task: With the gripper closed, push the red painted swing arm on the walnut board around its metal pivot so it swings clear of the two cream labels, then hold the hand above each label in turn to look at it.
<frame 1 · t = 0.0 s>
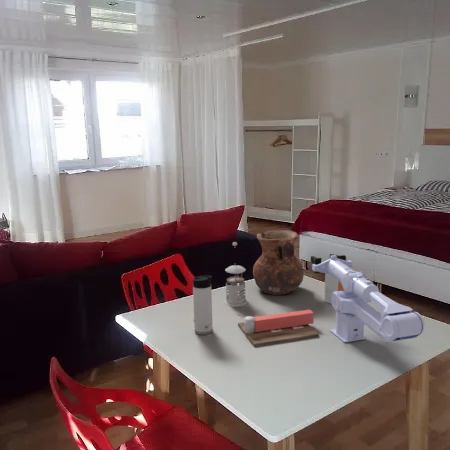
hand: (321, 257, 168), 22 cm above the table, tool horizontal, fingers open, 7 cm apart
travel mug: (204, 331, 160), on the table
swing arm: (278, 320, 158), point 4 cm above the table, hinge at 0.0°
jug: (278, 290, 198), on the table
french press: (236, 301, 186), on the table
small box: (336, 301, 184), on the table
label board: (277, 330, 158), on the table
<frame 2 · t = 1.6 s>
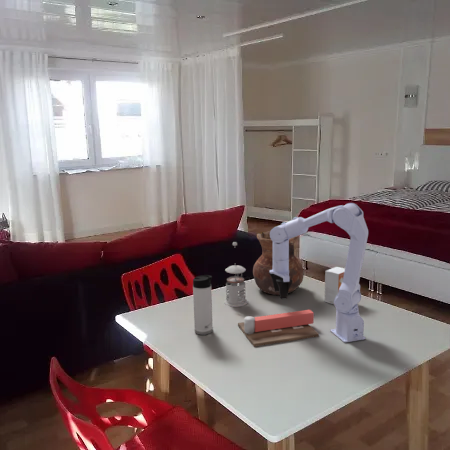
hand: (280, 294, 166), 9 cm above the table, tool pointing down, fingers open, 7 cm apart
nothing on the table moved.
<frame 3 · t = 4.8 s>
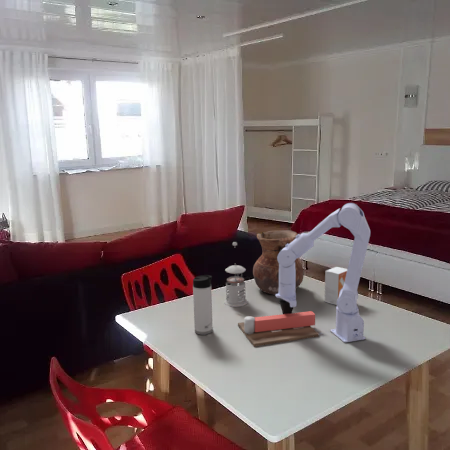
hand: (287, 318, 160), 3 cm above the table, tool pointing down, fingers closed
swing arm: (279, 321, 157), point 4 cm above the table, hinge at 3.8°, touching gripper
everything else where it was.
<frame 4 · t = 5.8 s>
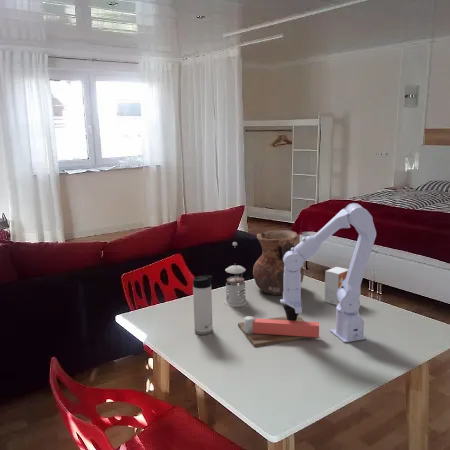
hand: (291, 325, 155), 3 cm above the table, tool pointing down, fingers closed
swing arm: (281, 326, 153), point 4 cm above the table, hinge at 27.4°, touching gripper
everything else where it was.
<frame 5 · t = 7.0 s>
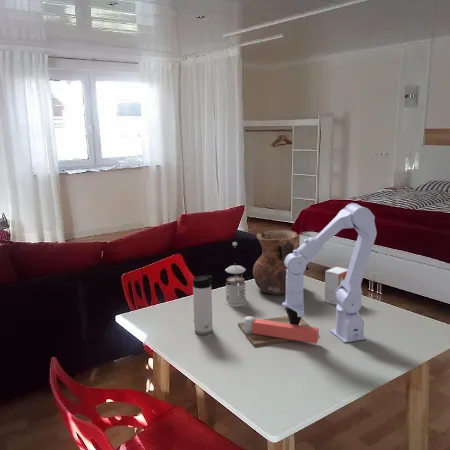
hand: (294, 328, 152), 3 cm above the table, tool pointing down, fingers closed
swing arm: (280, 329, 151), point 4 cm above the table, hinge at 38.6°, touching gripper
everything else where it was.
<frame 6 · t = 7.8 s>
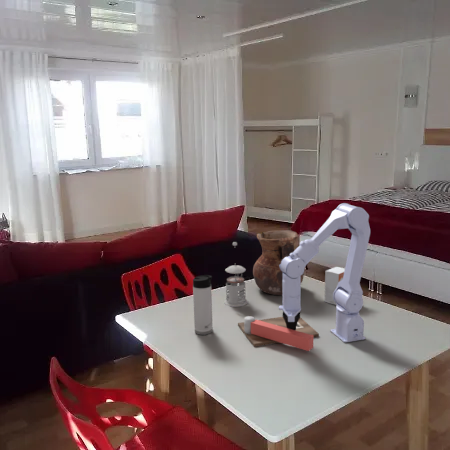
hand: (291, 333, 149), 3 cm above the table, tool pointing down, fingers closed
swing arm: (276, 332, 149), point 4 cm above the table, hinge at 53.5°, touching gripper
everything else where it was.
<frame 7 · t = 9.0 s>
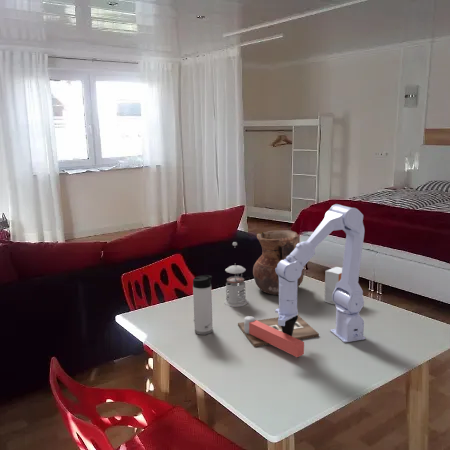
hand: (287, 338, 146), 3 cm above the table, tool pointing down, fingers closed
swing arm: (271, 335, 147), point 4 cm above the table, hinge at 67.4°, touching gripper
everything else where it was.
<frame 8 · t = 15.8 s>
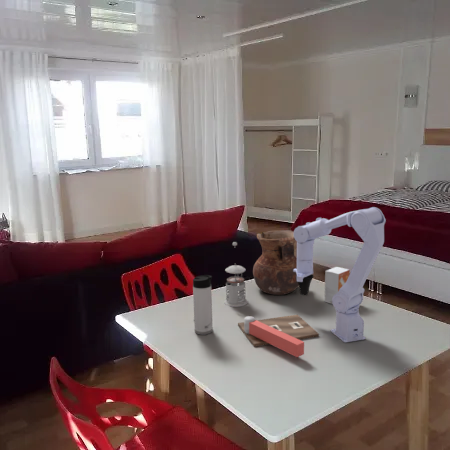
hand: (304, 294, 165), 9 cm above the table, tool pointing down, fingers closed
swing arm: (271, 335, 147), point 4 cm above the table, hinge at 67.4°
everything else where it was.
at the end: swing arm at +67° (first picture: +0°); travel mug moved 0.2 cm from its start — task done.
